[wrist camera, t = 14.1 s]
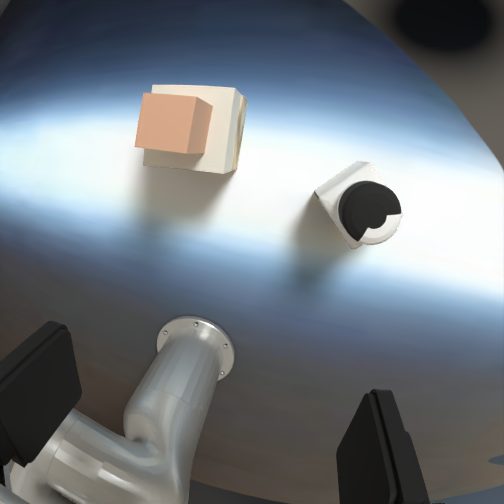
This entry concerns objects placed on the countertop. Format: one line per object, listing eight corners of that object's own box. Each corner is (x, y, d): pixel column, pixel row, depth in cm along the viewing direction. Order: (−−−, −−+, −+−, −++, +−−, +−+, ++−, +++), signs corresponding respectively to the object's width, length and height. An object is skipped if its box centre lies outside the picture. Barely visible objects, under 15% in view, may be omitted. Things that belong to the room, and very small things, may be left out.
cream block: (231, 171, 36) (223, 173, 32) (158, 163, 37) (143, 165, 33) (241, 95, 34) (234, 87, 29) (167, 91, 34) (152, 84, 30)
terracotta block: (204, 153, 32) (186, 153, 26) (159, 146, 32) (134, 147, 26) (213, 106, 30) (196, 96, 24) (167, 101, 30) (143, 92, 25)
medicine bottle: (312, 190, 40) (322, 206, 29) (357, 159, 38) (384, 162, 27) (343, 235, 41) (362, 266, 30) (386, 205, 40) (421, 225, 28)
